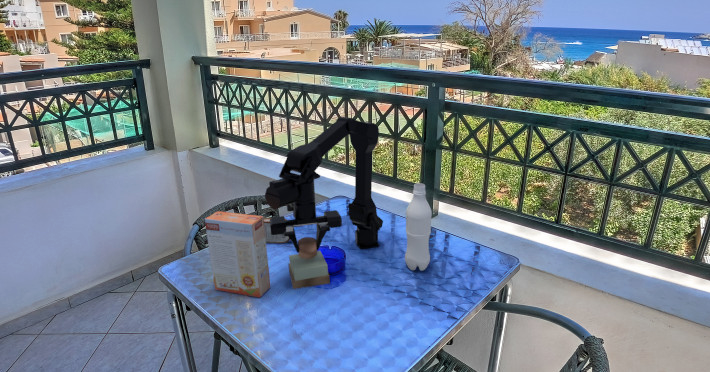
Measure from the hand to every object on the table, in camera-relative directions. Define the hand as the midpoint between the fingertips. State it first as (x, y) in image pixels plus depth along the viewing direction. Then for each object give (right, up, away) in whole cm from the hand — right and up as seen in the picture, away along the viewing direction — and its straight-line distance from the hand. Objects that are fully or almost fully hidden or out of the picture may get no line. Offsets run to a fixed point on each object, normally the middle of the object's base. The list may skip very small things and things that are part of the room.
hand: (307, 250), depth 115 cm
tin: (-14, -1, +24) cm, 28 cm away
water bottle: (+31, -6, +7) cm, 32 cm away
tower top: (0, -6, +2) cm, 6 cm away
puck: (0, -1, 0) cm, 1 cm away
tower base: (0, -8, +3) cm, 9 cm away
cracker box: (-17, -10, -2) cm, 20 cm away
